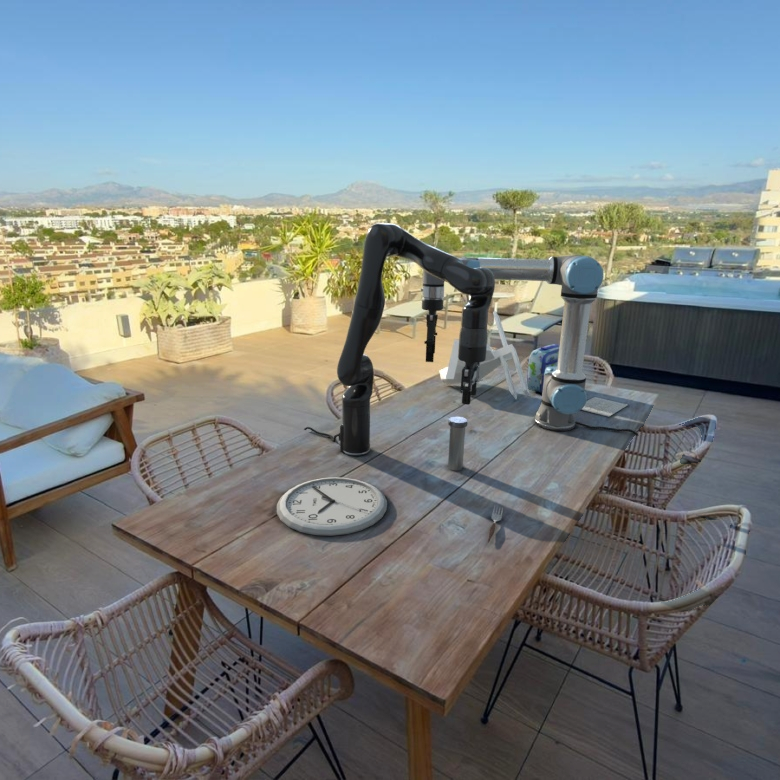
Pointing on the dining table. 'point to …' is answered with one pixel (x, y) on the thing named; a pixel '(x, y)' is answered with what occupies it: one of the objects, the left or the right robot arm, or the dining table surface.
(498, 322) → the white plastic object
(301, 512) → the wall clock
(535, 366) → the lunch box
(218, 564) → the dining table surface
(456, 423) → the lid
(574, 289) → the right robot arm
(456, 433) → the jar
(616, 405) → the invitation card
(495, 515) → the fork
